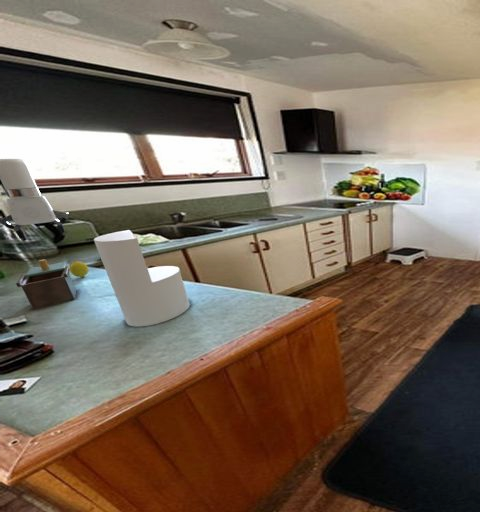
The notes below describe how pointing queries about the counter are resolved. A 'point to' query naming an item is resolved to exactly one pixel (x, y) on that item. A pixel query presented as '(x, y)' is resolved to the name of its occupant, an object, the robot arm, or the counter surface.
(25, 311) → the counter surface
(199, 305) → the counter surface
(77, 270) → the lemon
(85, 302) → the counter surface
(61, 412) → the counter surface
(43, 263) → the slide door
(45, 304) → the storage box
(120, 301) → the white stepped drum
